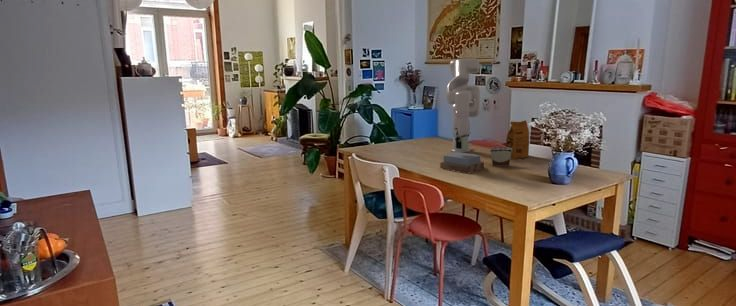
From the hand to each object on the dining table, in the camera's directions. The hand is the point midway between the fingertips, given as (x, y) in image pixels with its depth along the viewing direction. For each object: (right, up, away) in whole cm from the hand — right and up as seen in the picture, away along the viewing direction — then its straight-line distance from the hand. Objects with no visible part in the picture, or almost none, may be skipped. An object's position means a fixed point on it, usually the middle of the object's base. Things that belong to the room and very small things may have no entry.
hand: (461, 147), depth 262 cm
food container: (+23, -10, +7) cm, 26 cm away
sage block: (0, -1, 0) cm, 1 cm away
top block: (0, -8, +2) cm, 9 cm away
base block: (+1, -12, +3) cm, 13 cm away
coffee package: (+39, -6, +26) cm, 47 cm away
